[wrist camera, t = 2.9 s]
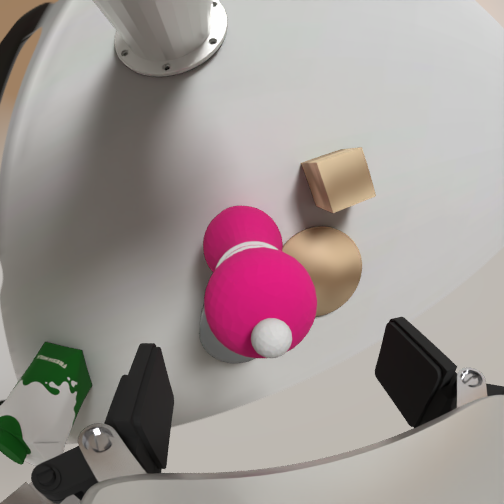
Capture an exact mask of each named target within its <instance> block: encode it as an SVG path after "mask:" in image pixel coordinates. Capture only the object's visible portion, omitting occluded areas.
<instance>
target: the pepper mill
mask: <svg viewBox="0 0 504 504" xmlns="http://www.w3.org/2000/svg"><path fill="white" fill-rule="evenodd" d="M282 246H283V243H282V237H281V234H280V232H279V229H278V227H277V225H276V224H275V222H274V221H273V220H272V218H271V217H270V216H268V215H267V214H266V213H264V212H263V211H261V210H259V209H257V208H253V207H249V206H233V207H229V208H227V209H225V210H223V211H222V212H221V213H220V214H218V215H217V216H216V217H215V218H214V219H213V220H212V221H211V223H210V224H209V226H208V227H207V230H206V232H205V235H204V241H203V248H204V255H205V260H206V262H207V264H208V266H209V268H210V269H211V270H212V272H213V274H212V276H211V277H210V280H209V282H208V285H207V288H206V291H205V297H204V307H205V315H206V319H207V322H208V324H209V327H210V329H211V331H212V333H213V334H214V336H215V337H216V338H217V340H218V341H219V342H220V343H222V344H223V345H224V346H225V347H226V348H228V349H229V350H231V351H233V352H235V353H237V354H239V355H242V356H245V357H250V358H277V357H279V356H282V355H283V354H285V353H286V352H287V351H289V350H291V349H293V348H294V347H295V346H296V345H297V344H299V343H300V342H301V341H302V340H303V338H304V337H305V336H306V335H307V333H308V332H309V330H310V328H311V326H312V324H313V322H314V319H315V316H316V310H317V296H316V290H315V286H314V284H313V282H312V280H311V277H310V275H309V273H308V272H307V270H306V269H305V268H304V266H303V265H302V264H301V263H300V262H299V261H297V260H296V259H295V258H293V257H292V256H290V255H288V254H286V253H284V252H283V251H282Z"/></svg>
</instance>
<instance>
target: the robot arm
mask: <svg viewBox="0 0 504 504" xmlns="http://www.w3.org/2000/svg"><path fill="white" fill-rule="evenodd" d="M93 2H94V3H95V4H96V5H97V7H98V8H99V9H100V10H101V12H102V13H103V14H104V15H105V17H106V18H107V19H108V20H109V22H110V23H111V24H112V25H113V27H114V28H115V29H116V33H115V41H114V45H115V49H116V53H117V55H118V56H119V58H120V60H121V61H122V62H123V63H124V64H125V65H126V66H127V67H129V68H130V69H131V70H133V71H135V72H137V73H139V74H143V75H147V76H157V77H161V76H171V75H175V74H180V73H183V72H186V71H188V70H191V69H193V68H195V67H197V66H198V65H200V64H202V63H204V62H205V61H206V60H207V59H209V58H210V57H211V56H212V55H213V54H214V53H215V52H216V51H217V50H218V49H219V47H220V46H221V44H222V43H223V41H224V38H225V35H226V32H227V15H226V11H225V9H224V7H223V6H222V4H221V3H220V2H219V1H218V0H93ZM212 43H215V44H214V45H212ZM126 54H127V55H126ZM125 55H126V56H125ZM166 68H170V69H169V70H166ZM456 368H457V366H456V365H455V364H454V363H453V362H452V361H451V360H450V359H449V358H448V357H447V356H446V355H444V354H443V353H442V352H441V351H440V350H439V349H438V348H437V347H436V346H435V345H434V344H433V343H431V342H430V341H429V340H428V339H427V338H426V337H425V336H424V335H423V334H421V332H420V331H418V330H417V329H416V328H415V327H414V326H413V325H412V324H411V323H409V322H408V321H407V320H406V319H405V318H404V317H398V318H394V319H391V320H390V321H389V323H387V325H386V328H385V333H384V337H383V341H382V345H381V349H380V354H379V357H378V361H377V365H376V369H375V375H376V378H377V379H378V381H379V382H380V383H381V385H382V386H383V388H384V389H385V391H386V392H387V393H388V395H389V396H390V398H391V399H392V400H393V402H394V403H395V405H396V406H397V408H398V409H399V411H400V412H401V414H402V415H403V417H404V418H405V419H406V421H407V422H408V424H409V425H410V426H411V427H414V429H411V430H409V431H407V432H404V433H402V434H399V435H397V436H394V437H392V438H389V439H386V440H383V441H381V442H378V443H375V444H372V445H369V446H366V447H362V448H359V449H356V450H353V451H349V452H346V453H342V454H338V455H334V456H331V457H326V458H323V459H318V460H313V461H309V462H304V463H298V464H293V465H287V466H281V467H274V468H267V469H258V470H248V471H237V472H221V473H161V469H165V468H166V465H167V455H168V445H169V437H170V429H171V421H172V414H173V406H174V396H173V392H172V389H171V385H170V382H169V378H168V374H167V371H166V367H165V363H164V359H163V355H162V351H161V348H160V347H156V345H155V344H154V343H141V344H140V345H139V348H138V350H137V353H136V356H135V358H134V361H133V363H132V366H131V369H130V371H129V374H128V375H123V376H122V378H121V380H120V382H119V385H118V387H117V390H116V393H115V395H114V398H113V401H112V403H111V406H110V409H109V412H108V415H107V417H106V420H105V423H104V424H102V423H97V424H92V425H89V426H87V427H86V428H84V429H83V430H82V431H81V433H80V435H79V437H78V444H79V446H77V447H76V448H73V449H71V450H69V451H67V452H65V453H63V454H60V455H58V456H56V457H54V458H52V459H49V460H47V461H45V462H42V463H40V464H39V465H37V466H36V467H35V468H34V470H33V472H32V477H31V479H32V482H31V483H30V484H28V483H27V482H25V483H24V484H23V485H22V486H21V487H20V488H18V489H17V490H16V491H15V492H13V493H12V494H11V495H10V496H8V497H7V498H6V499H5V500H4V501H3V502H1V503H0V504H504V387H503V386H497V385H491V384H486V380H485V377H484V375H483V374H482V373H481V372H480V371H478V370H476V369H474V368H463V369H461V370H460V371H459V372H458V374H457V373H456V372H455V370H456Z"/></svg>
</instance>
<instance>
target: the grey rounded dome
mask: <svg viewBox="0 0 504 504" xmlns="http://www.w3.org/2000/svg"><path fill="white" fill-rule="evenodd" d="M199 334H200V341H201V343H202V346H203V347H204V349H205V350H206V351H207V352H208V353H209V354H210V355H211V356H212V357H214V358H216V359H218V360H220V361H223V362H227V363H244V362H248V361H251V360H253V359H255V358H250V357H245V356H242V355H239V354H237V353H235V352H233V351H231V350H229V349H228V348H226V347H225V346H224V345H223V344H222V343H220V342H219V341H218V340H217V338H216V337H215V336H214V334H213V333H212V331H211V329H210V327H209V324H208V322H207V319H206V315H205V307H204V305H203V308H202V311H201V321H200V333H199Z"/></svg>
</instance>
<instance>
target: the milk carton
mask: <svg viewBox="0 0 504 504" xmlns="http://www.w3.org/2000/svg"><path fill="white" fill-rule="evenodd" d="M91 387H92V383H91V380H90V377H89V373H88V370H87V366H86V363H85V359H84V356H83V352H82V350H79V349H74V348H69V347H65V346H61V345H56V344H52V343H48V342H45V343H44V344H43V346H42V347H41V349H40V351H39V352H38V354H37V355H36V357H35V358H34V360H33V362H32V363H31V365H30V366H29V367H28V369H27V370H26V372H25V373H24V374H23V376H22V377H21V379H20V380H19V381H18V383H17V384H16V386H15V387H14V389H13V390H12V392H11V393H10V395H9V396H8V398H7V399H6V401H5V402H4V403H3V404H2V405H1V406H0V451H1V452H2V453H3V454H4V455H6V456H7V457H9V458H10V459H11V460H13V461H14V462H17V463H18V464H23V462H24V461H25V462H27V463H29V464H31V465H33V466H37V465H39V464H40V463H42V462H45V461H47V460H49V459H52V458H54V457H56V456H58V455H60V454H63V451H64V447H65V443H66V441H67V438H68V436H69V433H70V431H71V428H72V426H73V424H74V421H75V419H76V416H77V414H78V412H79V409H80V407H81V405H82V403H83V401H84V399H85V397H86V395H87V393H88V392H89V390H90V388H91Z"/></svg>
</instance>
